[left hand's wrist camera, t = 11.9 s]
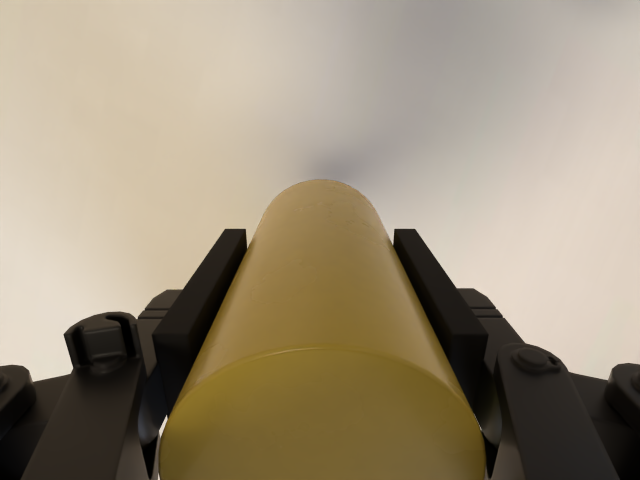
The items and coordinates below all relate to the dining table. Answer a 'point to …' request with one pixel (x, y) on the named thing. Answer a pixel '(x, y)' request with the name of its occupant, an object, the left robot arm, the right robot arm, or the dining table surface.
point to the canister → (321, 361)
